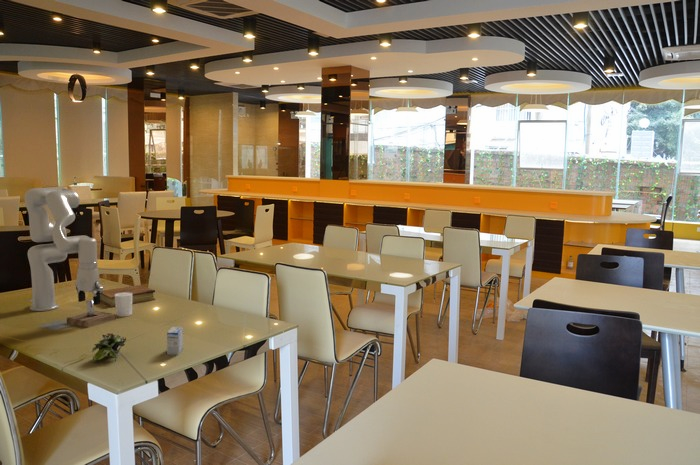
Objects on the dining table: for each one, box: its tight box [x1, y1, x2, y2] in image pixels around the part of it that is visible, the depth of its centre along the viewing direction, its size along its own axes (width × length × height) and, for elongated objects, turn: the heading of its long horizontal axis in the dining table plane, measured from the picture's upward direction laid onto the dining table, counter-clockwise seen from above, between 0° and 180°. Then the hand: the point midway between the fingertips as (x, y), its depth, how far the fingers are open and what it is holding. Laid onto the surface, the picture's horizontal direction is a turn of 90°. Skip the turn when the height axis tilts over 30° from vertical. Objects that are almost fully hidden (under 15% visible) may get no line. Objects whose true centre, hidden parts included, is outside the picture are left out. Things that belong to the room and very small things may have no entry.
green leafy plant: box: [91, 332, 127, 363], centre depth 206 cm, size 11×11×12 cm
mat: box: [38, 320, 75, 331], centre depth 248 cm, size 12×10×1 cm
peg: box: [85, 299, 95, 318], centre depth 253 cm, size 3×3×10 cm
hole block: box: [66, 310, 116, 328], centre depth 254 cm, size 14×14×3 cm
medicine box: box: [166, 326, 184, 356], centre depth 215 cm, size 8×4×9 cm, turn 5°
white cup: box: [115, 292, 133, 318], centre depth 266 cm, size 8×8×10 cm
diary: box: [100, 284, 156, 308], centre depth 295 cm, size 23×19×6 cm
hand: (89, 302), depth 253 cm, fingers open, 9 cm apart
